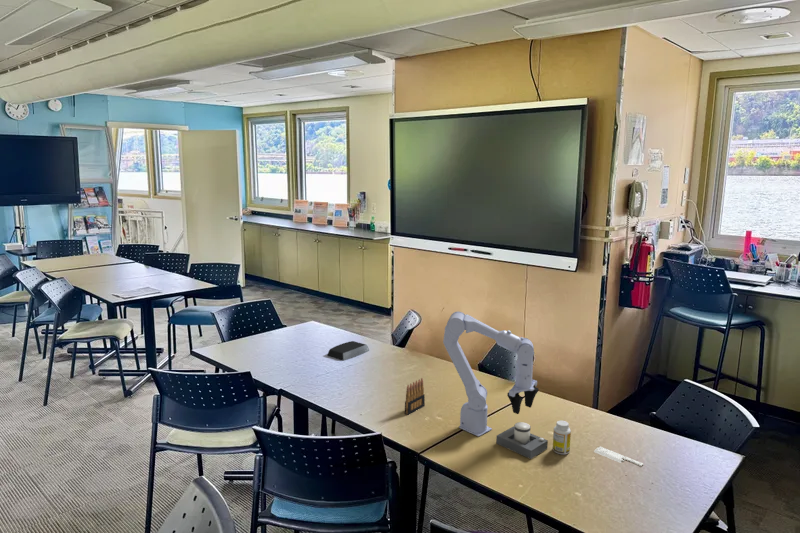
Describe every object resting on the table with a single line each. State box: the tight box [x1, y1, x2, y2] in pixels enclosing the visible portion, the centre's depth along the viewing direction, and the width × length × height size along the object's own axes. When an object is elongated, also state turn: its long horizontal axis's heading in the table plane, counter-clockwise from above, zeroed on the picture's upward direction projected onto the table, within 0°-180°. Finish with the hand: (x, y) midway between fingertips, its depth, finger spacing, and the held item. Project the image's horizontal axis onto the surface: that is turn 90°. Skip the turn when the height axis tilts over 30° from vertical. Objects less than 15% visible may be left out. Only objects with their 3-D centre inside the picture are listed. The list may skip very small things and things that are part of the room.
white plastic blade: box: [593, 446, 644, 467], centre depth 181 cm, size 5×15×1 cm, turn 42°
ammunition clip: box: [404, 377, 426, 416], centre depth 214 cm, size 11×2×12 cm, turn 141°
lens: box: [514, 421, 532, 445], centre depth 187 cm, size 5×5×6 cm
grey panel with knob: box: [495, 426, 549, 460], centre depth 188 cm, size 14×10×4 cm
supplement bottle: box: [552, 420, 572, 455], centre depth 184 cm, size 6×6×10 cm
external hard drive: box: [326, 340, 370, 361], centre depth 280 cm, size 13×19×4 cm
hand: (522, 409), depth 195 cm, fingers open, 7 cm apart
